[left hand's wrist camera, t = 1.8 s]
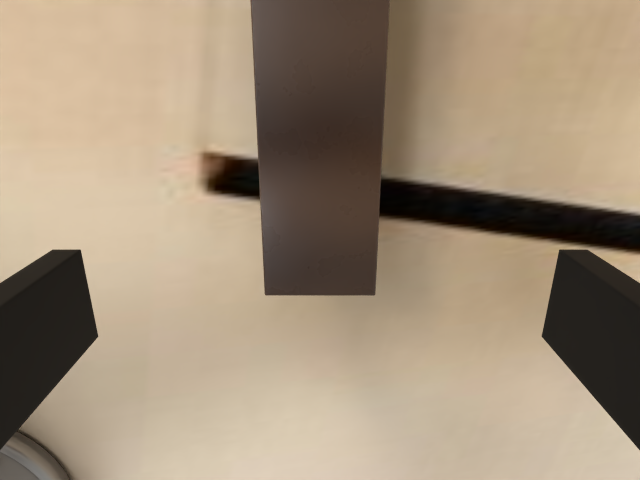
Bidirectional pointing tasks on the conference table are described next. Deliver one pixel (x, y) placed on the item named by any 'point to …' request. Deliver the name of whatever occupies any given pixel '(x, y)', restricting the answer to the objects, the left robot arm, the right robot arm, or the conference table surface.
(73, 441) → the conference table surface
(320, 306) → the conference table surface
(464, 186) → the conference table surface
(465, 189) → the conference table surface
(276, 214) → the beam
